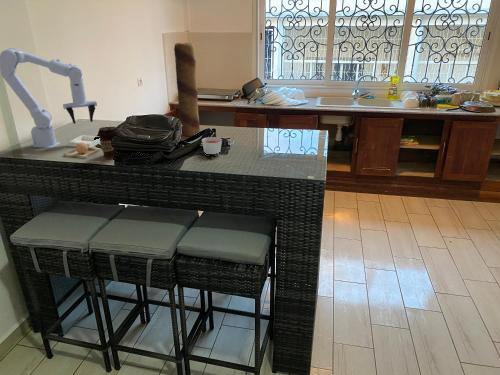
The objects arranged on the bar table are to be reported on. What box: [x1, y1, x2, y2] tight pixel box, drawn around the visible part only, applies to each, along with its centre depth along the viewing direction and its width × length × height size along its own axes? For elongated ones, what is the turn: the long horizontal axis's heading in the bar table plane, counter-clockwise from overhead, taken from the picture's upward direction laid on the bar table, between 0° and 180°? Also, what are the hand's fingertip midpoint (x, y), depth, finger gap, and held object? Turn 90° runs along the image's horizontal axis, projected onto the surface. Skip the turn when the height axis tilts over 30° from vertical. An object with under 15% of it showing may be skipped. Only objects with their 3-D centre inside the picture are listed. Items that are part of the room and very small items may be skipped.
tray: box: [63, 147, 102, 159], centre depth 173 cm, size 11×11×2 cm
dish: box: [67, 134, 100, 148], centre depth 186 cm, size 11×11×2 cm
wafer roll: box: [173, 42, 201, 137], centre depth 196 cm, size 10×11×45 cm
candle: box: [201, 136, 223, 155], centre depth 176 cm, size 9×9×6 cm
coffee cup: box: [97, 126, 120, 160], centre depth 168 cm, size 9×8×13 cm
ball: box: [75, 142, 88, 154], centre depth 172 cm, size 5×5×5 cm
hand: (83, 122), depth 185 cm, fingers open, 7 cm apart
